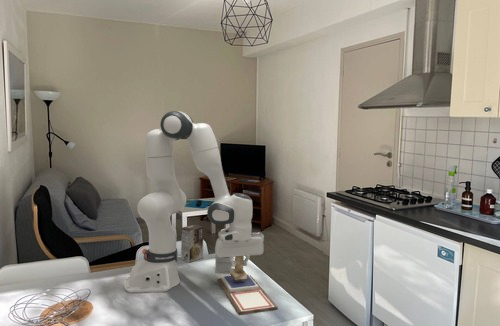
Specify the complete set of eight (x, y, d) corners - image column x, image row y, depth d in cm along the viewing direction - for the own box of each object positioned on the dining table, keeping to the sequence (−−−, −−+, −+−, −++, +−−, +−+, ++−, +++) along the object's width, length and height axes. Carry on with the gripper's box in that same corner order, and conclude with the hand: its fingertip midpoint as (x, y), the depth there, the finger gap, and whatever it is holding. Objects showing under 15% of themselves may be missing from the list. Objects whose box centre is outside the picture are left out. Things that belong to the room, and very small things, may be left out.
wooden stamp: (235, 281, 155) (236, 258, 154) (230, 274, 161) (231, 252, 160) (246, 280, 157) (248, 258, 155) (241, 273, 163) (242, 252, 162)
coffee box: (194, 254, 194) (195, 223, 193) (203, 258, 190) (204, 226, 189) (180, 259, 187) (181, 227, 186) (189, 263, 183) (189, 230, 182)
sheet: (241, 311, 137) (241, 310, 137) (230, 293, 150) (230, 293, 150) (274, 306, 141) (274, 306, 141) (260, 290, 154) (260, 289, 154)
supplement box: (215, 267, 179) (216, 241, 178) (231, 267, 180) (232, 241, 178) (214, 273, 172) (215, 246, 170) (231, 273, 172) (232, 246, 171)
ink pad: (230, 292, 151) (230, 288, 151) (221, 279, 164) (221, 275, 163) (258, 288, 155) (258, 285, 155) (248, 276, 168) (248, 272, 167)
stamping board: (238, 315, 136) (238, 312, 136) (217, 280, 164) (217, 278, 164) (277, 309, 141) (277, 306, 141) (250, 277, 169) (250, 275, 169)
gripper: (261, 229, 163) (259, 261, 165) (214, 232, 157) (213, 264, 158) (267, 234, 157) (265, 266, 159) (218, 236, 151) (217, 270, 152)
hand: (238, 265), depth 159 cm, fingers closed on wooden stamp, 3 cm apart
